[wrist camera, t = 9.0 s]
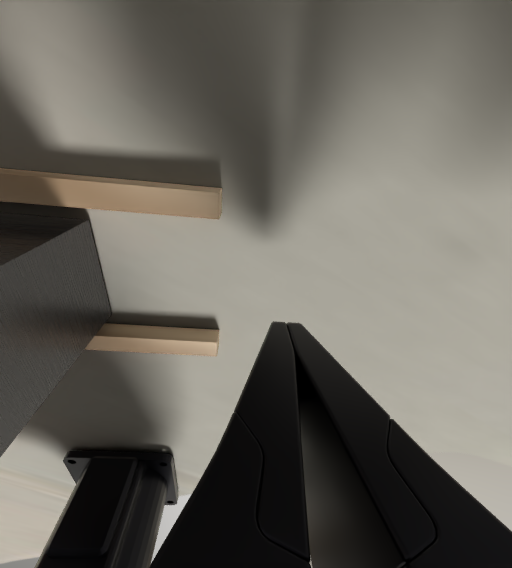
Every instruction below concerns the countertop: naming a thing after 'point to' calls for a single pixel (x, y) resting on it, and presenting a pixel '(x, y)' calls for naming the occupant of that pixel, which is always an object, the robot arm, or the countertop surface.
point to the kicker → (44, 309)
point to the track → (128, 199)
